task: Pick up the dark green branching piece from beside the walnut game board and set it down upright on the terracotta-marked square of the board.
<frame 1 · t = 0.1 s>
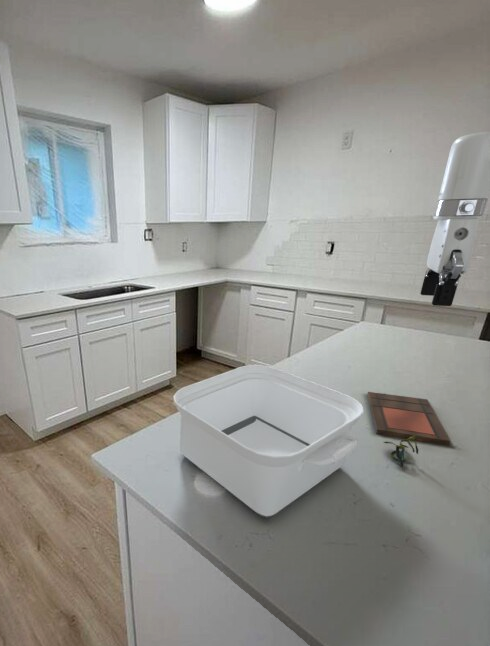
hand: (434, 300, 75), 30 cm above the counter, tool pointing down, fingers open, 9 cm apart
board: (402, 417, 90), on the counter
white storage bin: (258, 463, 75), on the counter
dark green branching piece: (396, 457, 76), on the counter
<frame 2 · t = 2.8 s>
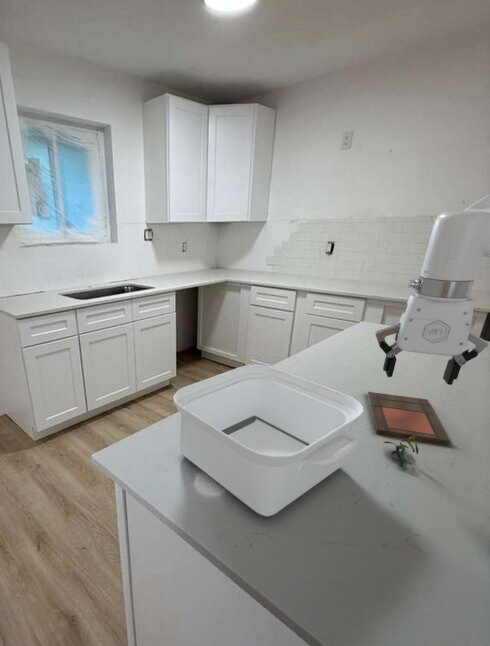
hand: (417, 378, 69), 18 cm above the counter, tool pointing down, fingers open, 9 cm apart
nothing on the counter moved.
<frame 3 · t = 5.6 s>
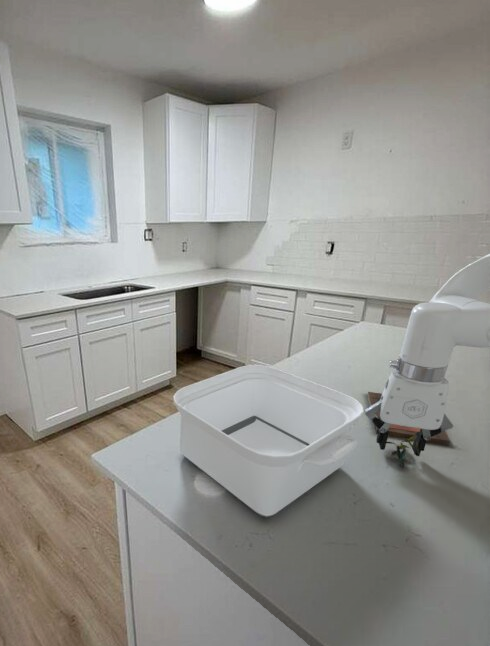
hand: (398, 448, 75), 2 cm above the counter, tool pointing down, fingers closed on dark green branching piece, 5 cm apart
dark green branching piece: (397, 457, 76), on the counter, touching gripper
everything else where it was.
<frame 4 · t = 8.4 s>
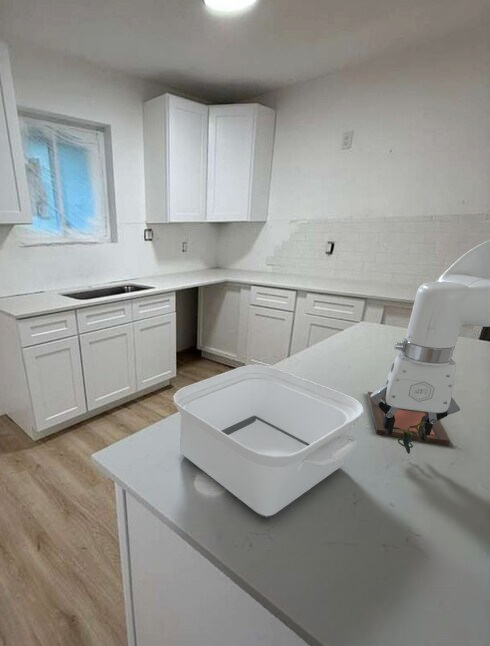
hand: (404, 433, 74), 6 cm above the counter, tool pointing down, fingers closed on dark green branching piece, 5 cm apart
dark green branching piece: (404, 443, 74), point 3 cm above the counter, touching gripper
everything else where it was.
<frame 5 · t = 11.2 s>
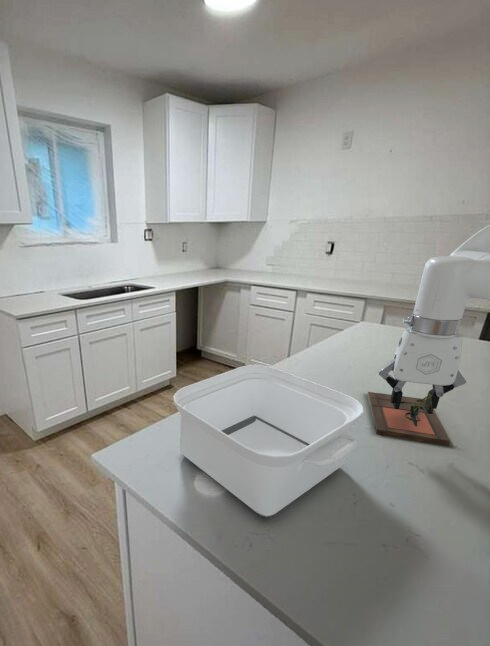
hand: (411, 407, 75), 10 cm above the counter, tool pointing down, fingers closed on dark green branching piece, 5 cm apart
dark green branching piece: (411, 418, 76), point 7 cm above the counter, touching gripper
everything else where it was.
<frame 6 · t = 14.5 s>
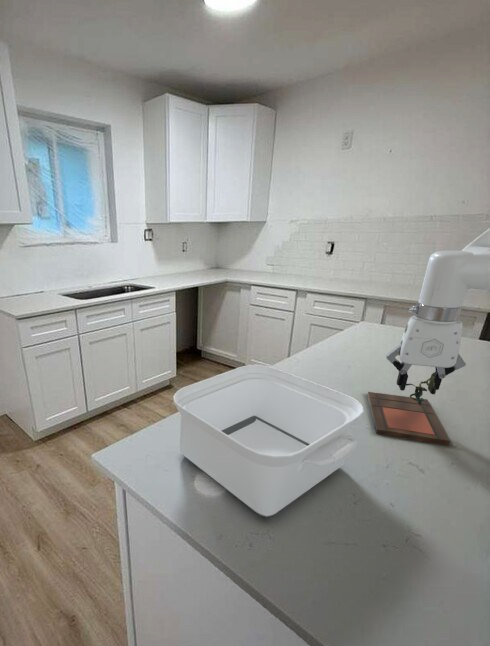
hand: (416, 389, 83), 10 cm above the counter, tool pointing down, fingers closed on dark green branching piece, 5 cm apart
dark green branching piece: (415, 398, 83), point 7 cm above the counter, touching gripper
everything else where it was.
when the fingers open (3 cm above the counter, at t = 17.1 s): dark green branching piece stays where it is, resting on board.
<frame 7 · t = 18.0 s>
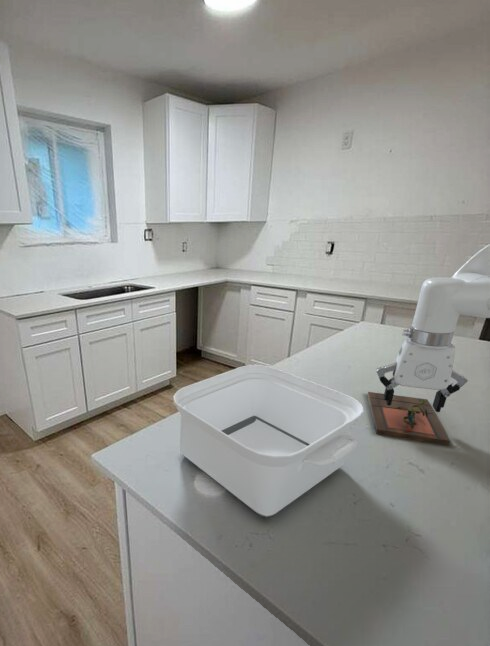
hand: (411, 406, 85), 5 cm above the counter, tool pointing down, fingers open, 9 cm apart
dark green branching piece: (408, 421, 86), point 1 cm above the counter, touching board
everything else where it was.
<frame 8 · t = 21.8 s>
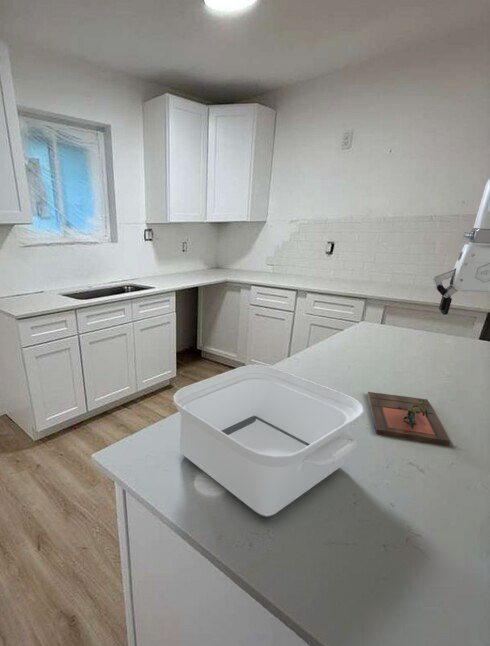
hand: (468, 314, 85), 24 cm above the counter, tool pointing down, fingers open, 9 cm apart
nothing on the counter moved.
at the end: dark green branching piece 0.4 cm from the target spot on the board, point 1.1 cm above the board's base; dark green branching piece tilted 0°; the gripper is holding nothing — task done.
